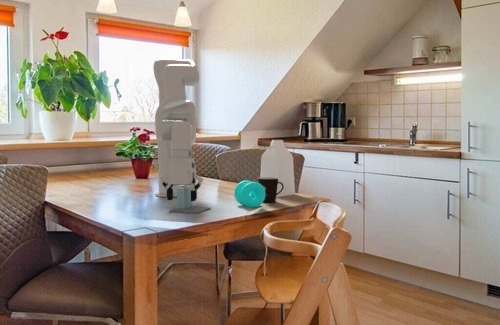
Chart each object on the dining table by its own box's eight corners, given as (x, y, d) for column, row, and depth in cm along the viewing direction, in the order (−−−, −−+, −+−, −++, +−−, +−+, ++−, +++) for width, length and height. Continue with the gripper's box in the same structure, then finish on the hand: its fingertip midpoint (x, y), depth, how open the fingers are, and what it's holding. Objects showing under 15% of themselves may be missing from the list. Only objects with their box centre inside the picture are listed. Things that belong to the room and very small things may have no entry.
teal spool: (242, 208, 180) (242, 182, 179) (233, 205, 189) (233, 180, 188) (266, 207, 184) (266, 181, 183) (256, 204, 193) (256, 179, 192)
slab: (185, 205, 183) (185, 185, 183) (192, 206, 182) (192, 185, 182) (177, 208, 177) (176, 186, 176) (184, 208, 176) (184, 187, 175)
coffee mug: (254, 201, 202) (254, 177, 201) (272, 200, 205) (272, 177, 205) (266, 204, 191) (266, 179, 191) (285, 203, 195) (285, 179, 194)
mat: (184, 207, 182) (184, 206, 182) (210, 209, 179) (210, 207, 179) (169, 212, 171) (169, 210, 171) (196, 213, 167) (196, 212, 167)
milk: (276, 198, 212) (277, 140, 210) (259, 195, 220) (259, 140, 219) (295, 196, 220) (295, 140, 218) (277, 193, 228) (277, 140, 227)
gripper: (206, 154, 177) (207, 200, 178) (165, 154, 182) (166, 198, 183) (198, 155, 170) (198, 202, 170) (155, 154, 175) (156, 200, 176)
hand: (181, 200), depth 177 cm, fingers open, 9 cm apart
